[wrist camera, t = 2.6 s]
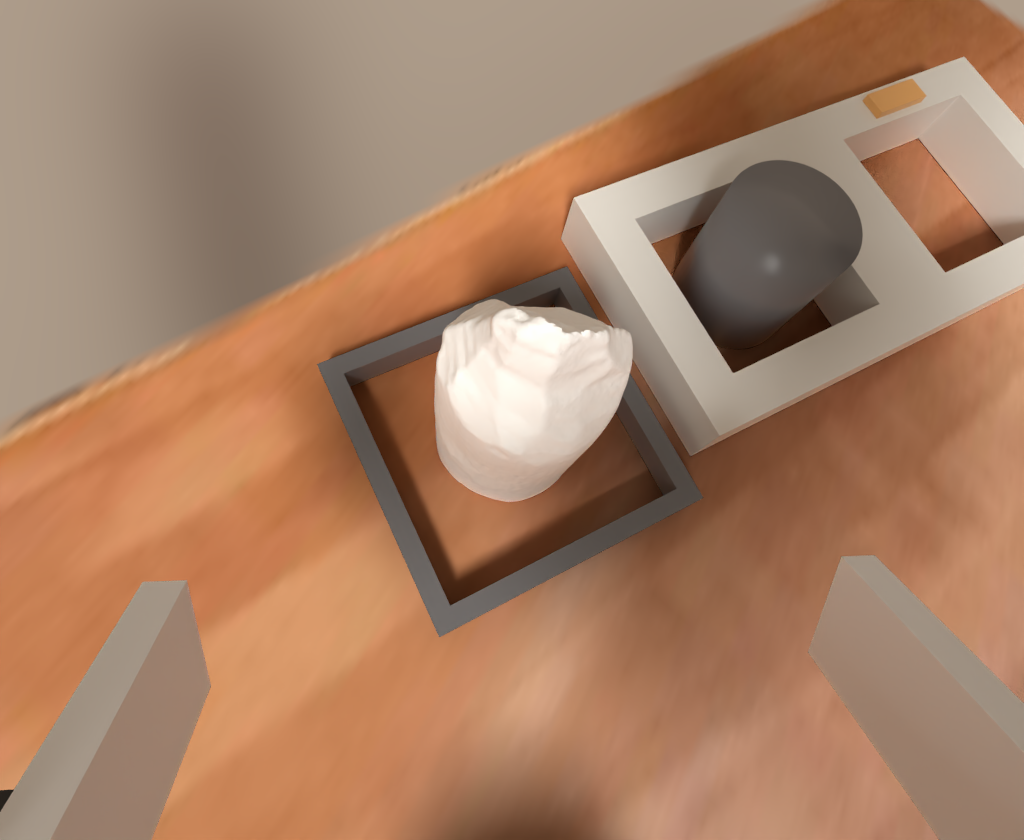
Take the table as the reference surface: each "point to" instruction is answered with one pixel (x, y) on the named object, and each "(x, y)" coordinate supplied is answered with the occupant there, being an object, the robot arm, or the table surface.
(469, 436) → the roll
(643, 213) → the block
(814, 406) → the table surface
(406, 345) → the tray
